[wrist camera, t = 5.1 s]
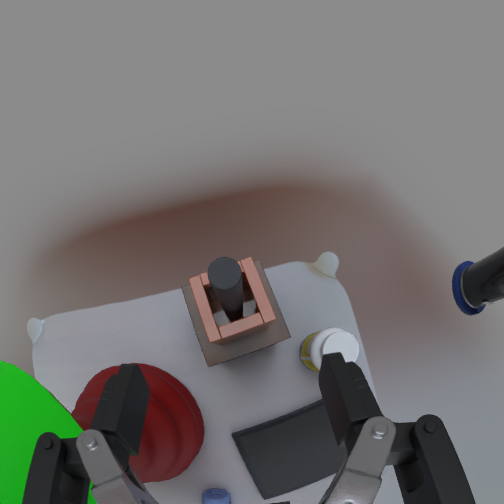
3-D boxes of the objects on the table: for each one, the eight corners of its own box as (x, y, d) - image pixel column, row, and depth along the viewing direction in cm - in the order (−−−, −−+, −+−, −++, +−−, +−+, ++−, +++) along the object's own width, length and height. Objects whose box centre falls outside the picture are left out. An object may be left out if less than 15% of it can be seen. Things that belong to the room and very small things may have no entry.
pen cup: (249, 280, 29) (251, 256, 22) (268, 327, 27) (276, 319, 20) (201, 297, 28) (187, 278, 21) (218, 345, 27) (209, 343, 20)
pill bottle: (341, 363, 39) (370, 364, 29) (305, 376, 38) (325, 383, 28) (330, 327, 41) (356, 317, 31) (293, 339, 40) (310, 334, 30)
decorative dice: (231, 505, 29) (230, 516, 26) (207, 505, 29) (204, 516, 25) (229, 488, 31) (227, 499, 27) (204, 488, 31) (201, 499, 27)
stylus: (239, 300, 28) (234, 252, 15) (245, 316, 27) (246, 282, 14) (223, 306, 28) (203, 263, 14) (229, 323, 27) (213, 294, 14)
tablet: (340, 390, 37) (342, 391, 36) (364, 455, 33) (366, 457, 32) (232, 433, 35) (231, 435, 34) (263, 497, 30) (264, 500, 29)
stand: (255, 288, 43) (259, 259, 30) (276, 342, 40) (291, 337, 27) (200, 307, 42) (181, 286, 29) (220, 362, 39) (208, 367, 26)
